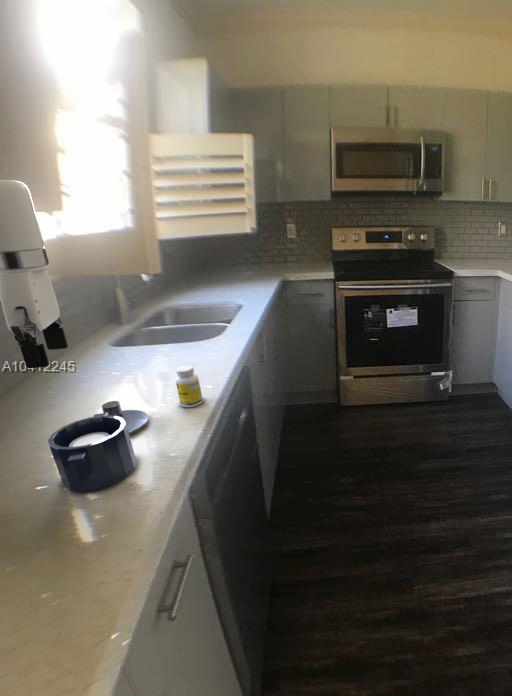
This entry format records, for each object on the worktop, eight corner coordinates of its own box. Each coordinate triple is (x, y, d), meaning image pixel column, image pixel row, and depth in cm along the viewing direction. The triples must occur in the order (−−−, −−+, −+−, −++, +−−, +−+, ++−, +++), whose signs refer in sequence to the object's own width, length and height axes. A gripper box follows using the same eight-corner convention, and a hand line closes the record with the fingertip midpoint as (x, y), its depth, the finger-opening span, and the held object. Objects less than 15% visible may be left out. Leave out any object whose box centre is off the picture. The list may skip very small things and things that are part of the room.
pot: (48, 508, 81) (31, 462, 77) (78, 454, 97) (65, 415, 93) (126, 493, 84) (114, 449, 81) (143, 444, 100) (133, 405, 97)
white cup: (104, 458, 95) (95, 428, 92) (126, 466, 92) (117, 435, 89) (70, 476, 89) (60, 445, 86) (93, 485, 86) (83, 453, 83)
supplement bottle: (176, 404, 118) (168, 369, 114) (194, 396, 122) (188, 362, 118) (188, 409, 115) (181, 374, 111) (207, 401, 119) (200, 366, 115)
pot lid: (75, 447, 99) (67, 422, 97) (92, 419, 112) (85, 396, 109) (143, 437, 103) (137, 412, 101) (153, 410, 115) (147, 388, 113)
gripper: (15, 254, 82) (42, 344, 89) (-35, 270, 67) (2, 377, 73) (63, 252, 84) (86, 340, 91) (25, 267, 69) (56, 372, 75)
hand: (48, 357), depth 82 cm, fingers open, 9 cm apart
